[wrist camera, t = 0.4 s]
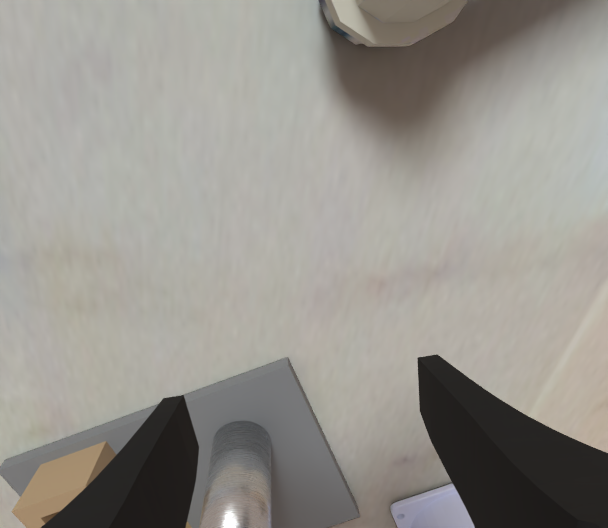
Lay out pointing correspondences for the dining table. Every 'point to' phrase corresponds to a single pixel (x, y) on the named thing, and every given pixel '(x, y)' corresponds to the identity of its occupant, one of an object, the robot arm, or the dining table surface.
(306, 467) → the fitting board
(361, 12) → the toothbrush head
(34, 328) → the dining table surface
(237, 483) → the metal round peg
